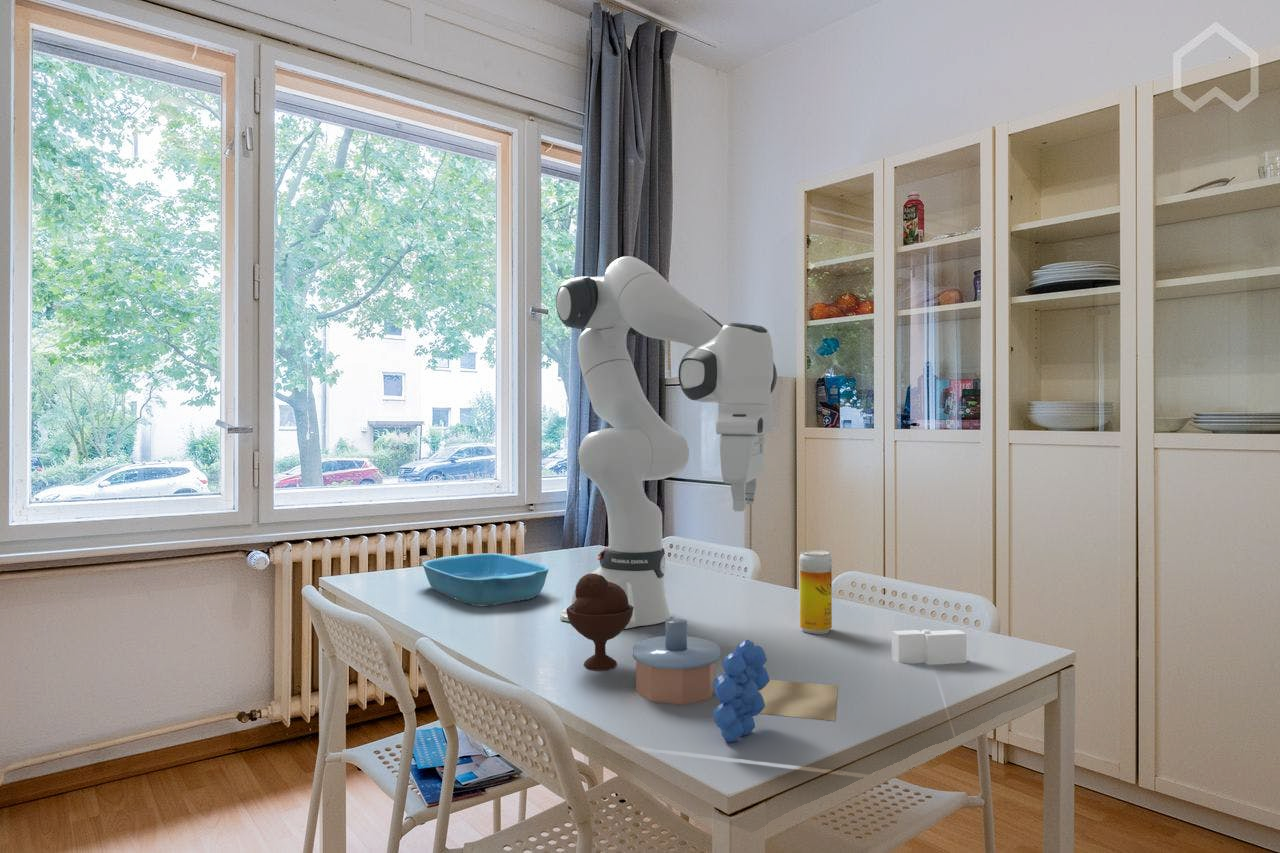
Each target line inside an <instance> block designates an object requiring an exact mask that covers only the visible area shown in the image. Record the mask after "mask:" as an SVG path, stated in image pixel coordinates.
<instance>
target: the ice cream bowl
mask: <svg viewBox="0 0 1280 853" xmlns="http://www.w3.org/2000/svg"><path fill="white" fill-rule="evenodd" d="M575 588H576V589H575ZM575 588H574V590H575V594H576V599H577V600H576V601H575V602H574V604H572V603H571V604H572V605H571V604H570V605H571V606H570V605H568V606H569V607H568V606H567V607H568V608H567V609H566V611H567V616H568V619H569V621H570V622H569V621H568V622H569V623H570V626H572V627H573V628H574V629H575V630H576V631H577V633H579V634H580V635H582V636H583V637H585V638H586V639H587V640H590V641H592V642H593V643H594V654H593V655H591V656H590V657H588V658H586V660H585V661H584V662H583V664H582V665H583V667H585V669H587V670H591V671H592V670H593V671H607V670H612V669H614V668H616V667H617V665H618V663H617V661H616V660H615V659H614V658H613V657H611V656H609V655H607V653H606V644H607V642H608V641H610V640H612V639H614V638H615V637H617V636H619V635H620V634H621V632H622V631H623V630H624V628H625V627H626V626H627V625H628V623H629V622H630V619H631V617H632V613H633V608H634V607H633V606H631V605H629V604H628V598H627V595H626V593H625V591H624V590H623V589H622V588H621V587H620V586H619V585H617V584H615V583H612V582H607V580H606V579H605V578H604V577H603V576H602V575H598V574H593V573H592V572H591V573H587V574H584V575H582V577H580V578H579V580H578V581H577V583H576V585H575Z"/></svg>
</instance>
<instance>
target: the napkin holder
mask: <svg viewBox="0 0 1280 853" xmlns="http://www.w3.org/2000/svg"><path fill="white" fill-rule="evenodd" d="M891 661H893V662H894V663H902V664H925V665H927V666H932V665H947V664H951V663H952V664H964V663H965V664H966V663H967V633H966V632H964V631H962V630H960V629H949V630H947V629H946V630H929V629H921V631H920V630H918V629H909V630H892V631H891Z"/></svg>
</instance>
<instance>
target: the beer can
mask: <svg viewBox="0 0 1280 853" xmlns="http://www.w3.org/2000/svg"><path fill="white" fill-rule="evenodd" d="M832 568H833V567H832V556H831V555H830V552H829V551H826V550H816V549H813V550H812V549H809V550H806V549H805V550H803V551H801V552H800V555H799V557H798V600H799V601H798V610H799V611H798V624H799V625H798V626H799V627H800V628H801V631H802V630H803V631H802V632H804V633H807V634H811V633H813V634H814V635H822V634H828V633H829V632H830V630H831V629H832V626H833V624H832V623H833V621H832V620H833V619H832V618H833V617H832V616H833V615H832V613H833V612H832V610H833V609H832V607H833V603H832V602H833V600H832V596H833V595H832V592H833V591H832V588H833V587H832V584H833V583H832V579H833V578H832V576H833V574H832V571H833V569H832ZM813 634H812V635H813Z"/></svg>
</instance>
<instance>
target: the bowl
mask: <svg viewBox="0 0 1280 853" xmlns="http://www.w3.org/2000/svg"><path fill="white" fill-rule="evenodd" d="M716 663H717V662H715V663H713V664H710V665H707V666H703V667H698V668H690V669H666V668H658V667H652V666H648V665H645V664H642V663H640V662H638V661H636V660H635V678H636V679H635V685H636V686H635V689H636V690H635V691H636V693H638V694H639V695H641V696H643V697H644V698H646V700H649V701H650V702H654V703H664V704H665V703H666V704H671V705H672V704H674V705H688V704H692V703H697V702H702V701H705V700H707V701H708V700H711V697H712V695H713V693H715V692H714V688H713V682H714V681H715V679H716V678H717V677H716V676H717V675H716V672H717V671H716V670H717V669H716V666H717V664H716Z"/></svg>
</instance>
